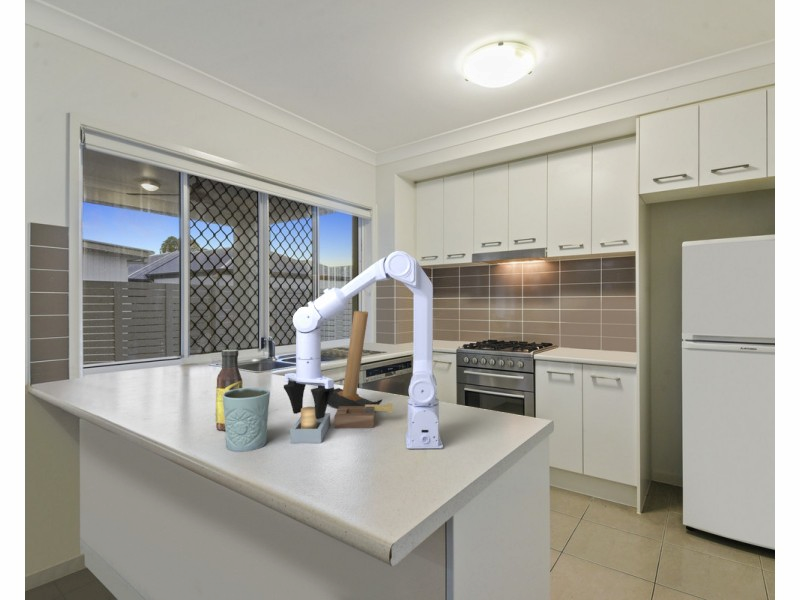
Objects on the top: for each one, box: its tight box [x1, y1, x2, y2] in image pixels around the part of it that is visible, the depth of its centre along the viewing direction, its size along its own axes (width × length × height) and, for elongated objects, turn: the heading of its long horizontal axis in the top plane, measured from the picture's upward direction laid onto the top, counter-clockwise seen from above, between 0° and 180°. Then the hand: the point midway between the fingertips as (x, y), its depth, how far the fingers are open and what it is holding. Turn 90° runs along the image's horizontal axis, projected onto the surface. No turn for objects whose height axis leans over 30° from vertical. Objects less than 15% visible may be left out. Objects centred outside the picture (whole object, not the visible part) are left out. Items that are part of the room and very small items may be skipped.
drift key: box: [365, 402, 393, 414], centre depth 111 cm, size 3×7×2 cm, turn 91°
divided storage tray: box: [289, 412, 331, 444], centre depth 102 cm, size 14×7×3 cm, turn 1°
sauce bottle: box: [215, 349, 243, 431], centre depth 107 cm, size 7×6×20 cm
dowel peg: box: [300, 406, 316, 429], centre depth 99 cm, size 4×4×7 cm
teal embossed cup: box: [222, 387, 271, 453], centre depth 94 cm, size 10×10×12 cm
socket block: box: [333, 404, 376, 429], centre depth 111 cm, size 10×10×4 cm
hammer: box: [327, 310, 383, 409], centre depth 124 cm, size 20×5×30 cm, turn 56°
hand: (308, 415), depth 99 cm, fingers open, 7 cm apart
